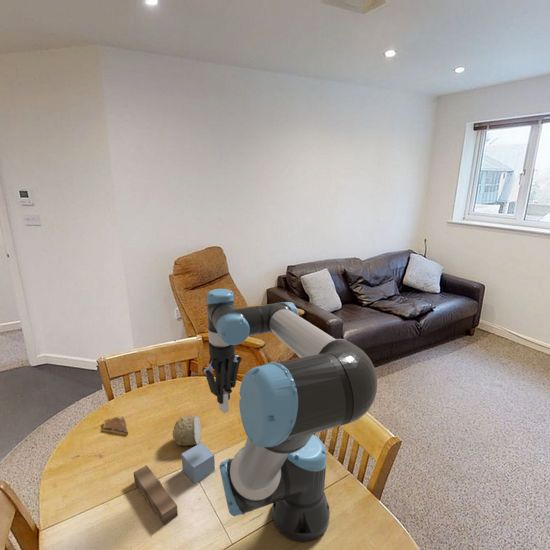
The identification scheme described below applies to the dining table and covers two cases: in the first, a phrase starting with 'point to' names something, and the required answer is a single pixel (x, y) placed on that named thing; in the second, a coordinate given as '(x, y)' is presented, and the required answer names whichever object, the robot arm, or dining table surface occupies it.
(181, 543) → the dining table surface
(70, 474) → the dining table surface
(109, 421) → the shard
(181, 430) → the cut rock
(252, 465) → the robot arm
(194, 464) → the block
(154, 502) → the brown wavy bar
